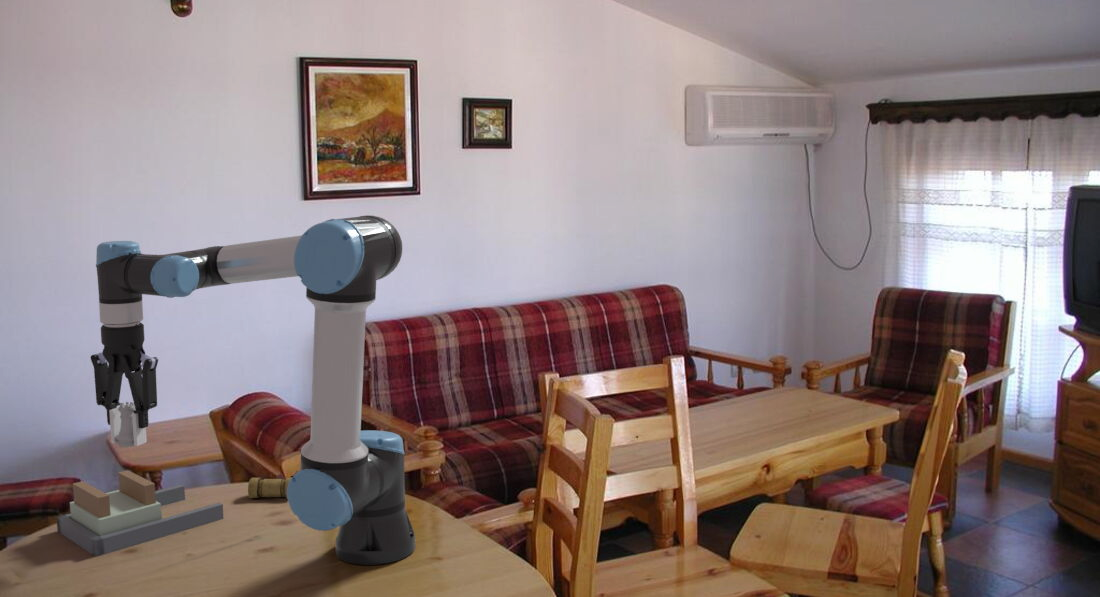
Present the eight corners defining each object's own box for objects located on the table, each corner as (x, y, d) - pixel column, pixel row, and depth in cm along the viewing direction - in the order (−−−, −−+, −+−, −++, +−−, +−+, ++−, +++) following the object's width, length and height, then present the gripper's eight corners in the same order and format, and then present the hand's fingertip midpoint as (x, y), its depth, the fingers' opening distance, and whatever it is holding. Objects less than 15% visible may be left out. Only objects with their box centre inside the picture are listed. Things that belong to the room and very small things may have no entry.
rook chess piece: (138, 447, 191) (135, 406, 190) (113, 447, 191) (111, 407, 189) (144, 440, 196) (142, 400, 194) (120, 440, 195) (117, 400, 194)
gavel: (273, 457, 240) (315, 456, 240) (274, 475, 240) (315, 475, 240) (247, 480, 219) (293, 480, 219) (248, 501, 219) (293, 501, 220)
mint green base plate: (162, 532, 199) (159, 484, 198) (101, 550, 191) (98, 500, 189) (131, 514, 209) (128, 468, 207) (72, 531, 200) (68, 483, 199)
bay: (223, 523, 207) (222, 504, 206) (96, 561, 188) (94, 541, 187) (181, 502, 219) (180, 484, 218) (58, 536, 200) (56, 517, 200)
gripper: (174, 322, 191) (180, 441, 194) (97, 317, 195) (104, 432, 199) (148, 329, 183) (155, 452, 187) (69, 323, 188) (77, 443, 192)
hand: (129, 442), depth 193 cm, fingers closed on rook chess piece, 4 cm apart
